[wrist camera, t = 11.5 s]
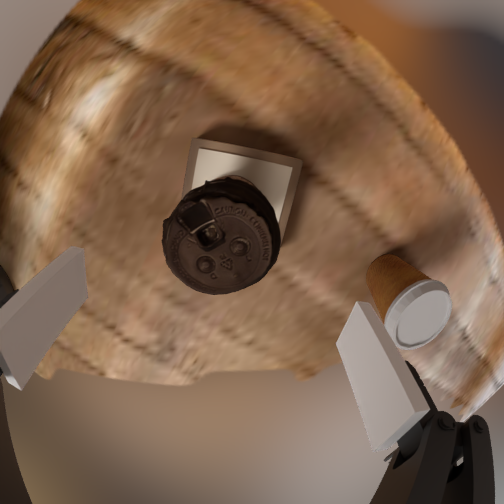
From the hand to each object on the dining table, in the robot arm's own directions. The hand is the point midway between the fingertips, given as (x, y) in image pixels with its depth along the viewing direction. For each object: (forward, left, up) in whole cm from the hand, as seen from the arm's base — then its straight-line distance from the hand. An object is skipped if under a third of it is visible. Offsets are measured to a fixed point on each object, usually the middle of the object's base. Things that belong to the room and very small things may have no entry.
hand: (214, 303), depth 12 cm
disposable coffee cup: (+23, -6, -22) cm, 33 cm away
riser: (0, 0, -22) cm, 22 cm away
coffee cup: (0, 0, -19) cm, 19 cm away
